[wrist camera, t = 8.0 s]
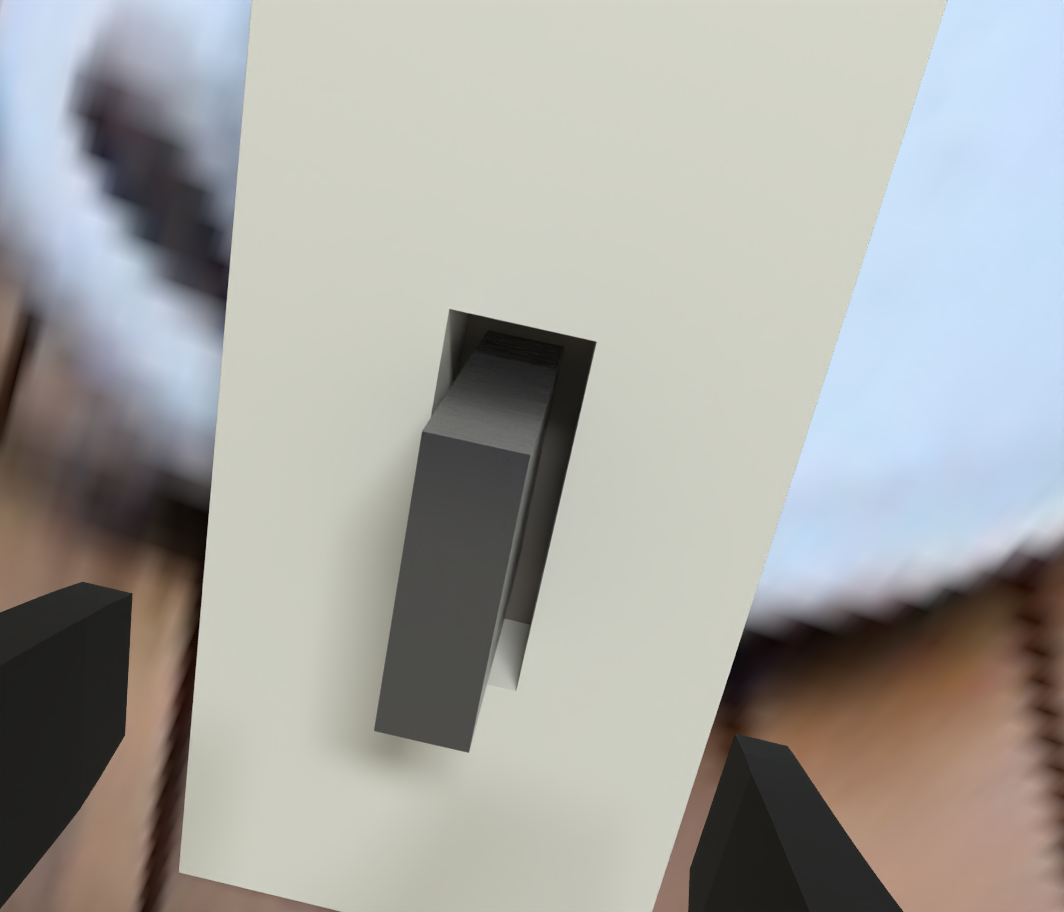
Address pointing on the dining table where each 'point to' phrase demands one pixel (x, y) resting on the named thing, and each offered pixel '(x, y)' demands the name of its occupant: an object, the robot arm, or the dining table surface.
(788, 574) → the dining table surface
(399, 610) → the metal block
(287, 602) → the post foot
